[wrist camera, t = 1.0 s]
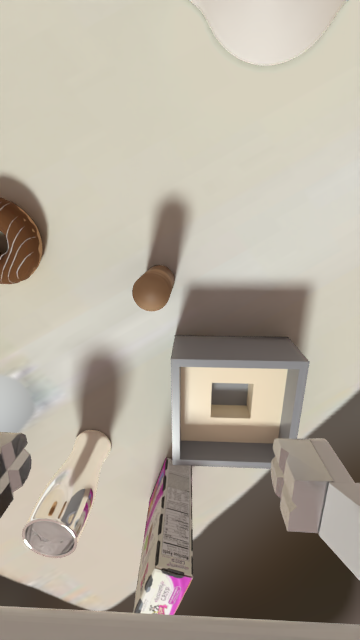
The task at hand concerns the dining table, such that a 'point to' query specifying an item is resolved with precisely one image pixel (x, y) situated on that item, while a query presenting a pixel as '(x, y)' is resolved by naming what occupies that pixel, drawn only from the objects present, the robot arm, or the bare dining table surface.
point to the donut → (18, 244)
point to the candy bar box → (167, 543)
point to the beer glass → (67, 498)
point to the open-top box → (234, 399)
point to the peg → (153, 288)
